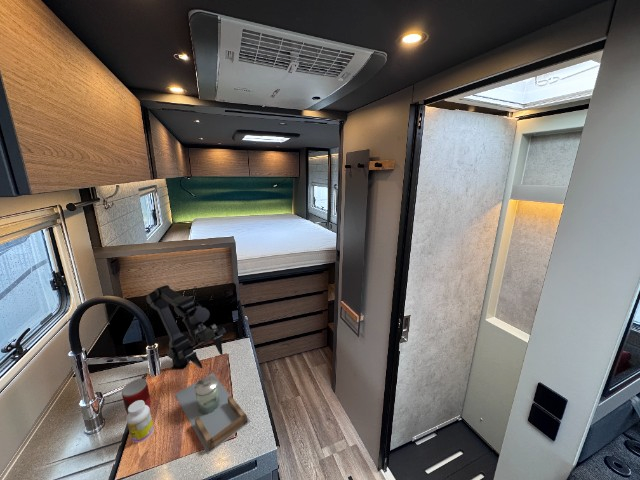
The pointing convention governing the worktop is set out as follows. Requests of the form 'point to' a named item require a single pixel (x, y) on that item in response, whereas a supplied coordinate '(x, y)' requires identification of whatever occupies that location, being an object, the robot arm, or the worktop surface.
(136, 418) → the supplement bottle
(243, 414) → the walnut pocket
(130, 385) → the canned food
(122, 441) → the worktop surface
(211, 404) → the tea tin
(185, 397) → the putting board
